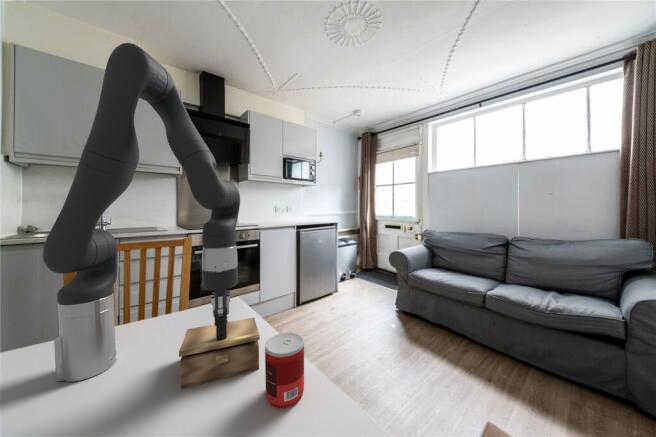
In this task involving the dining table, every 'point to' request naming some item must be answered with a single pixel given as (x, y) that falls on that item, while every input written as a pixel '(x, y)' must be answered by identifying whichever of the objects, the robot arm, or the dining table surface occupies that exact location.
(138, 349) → the dining table surface
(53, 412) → the dining table surface
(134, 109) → the robot arm
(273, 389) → the canned food
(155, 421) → the dining table surface
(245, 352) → the box
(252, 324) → the lid
